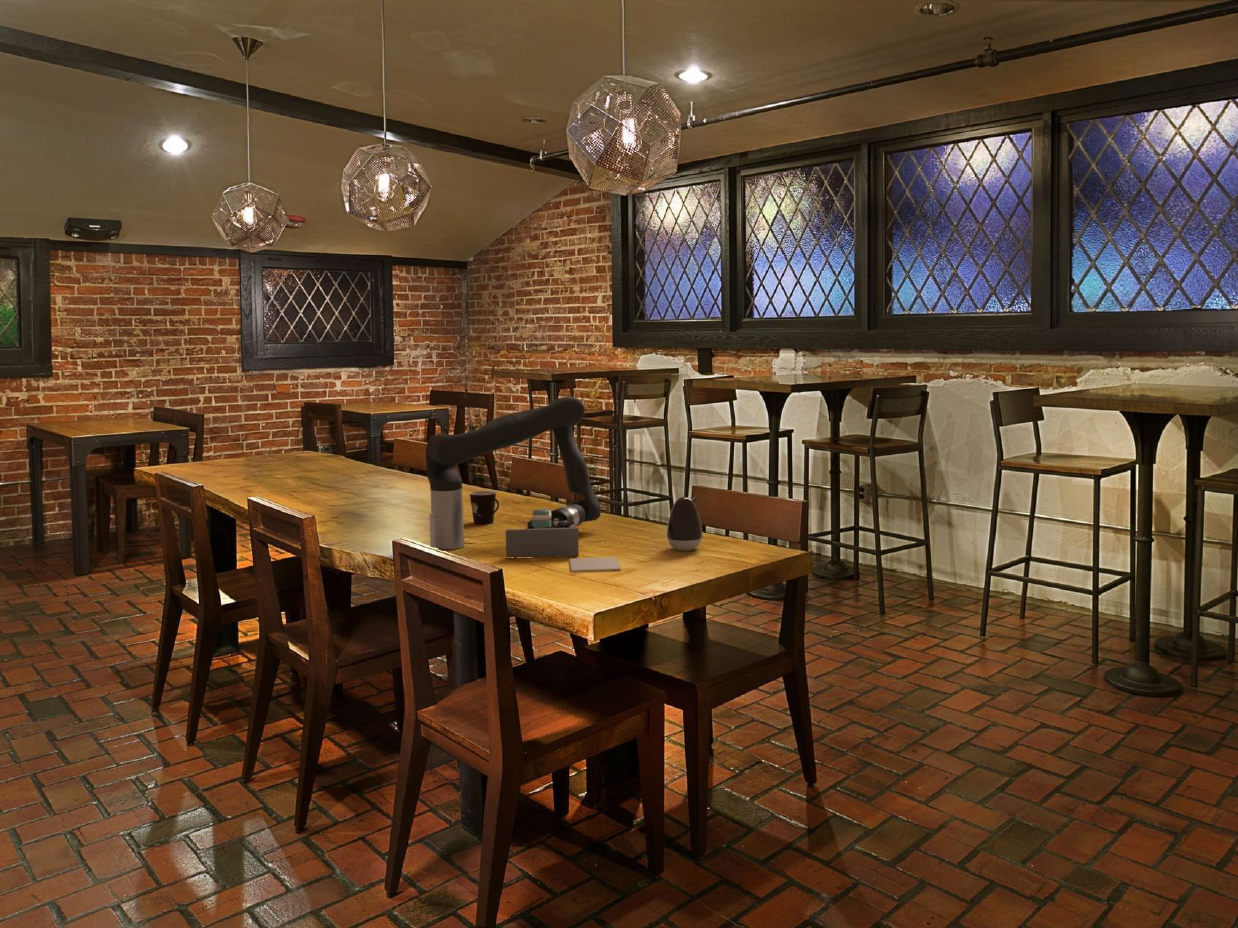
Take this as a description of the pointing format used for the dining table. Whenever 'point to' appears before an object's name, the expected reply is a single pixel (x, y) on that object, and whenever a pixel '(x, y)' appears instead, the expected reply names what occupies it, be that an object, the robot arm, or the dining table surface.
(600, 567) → the pad
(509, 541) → the screen
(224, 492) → the dining table surface
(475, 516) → the coffee mug
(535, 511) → the canister
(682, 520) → the black egg-shaped body
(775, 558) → the dining table surface
